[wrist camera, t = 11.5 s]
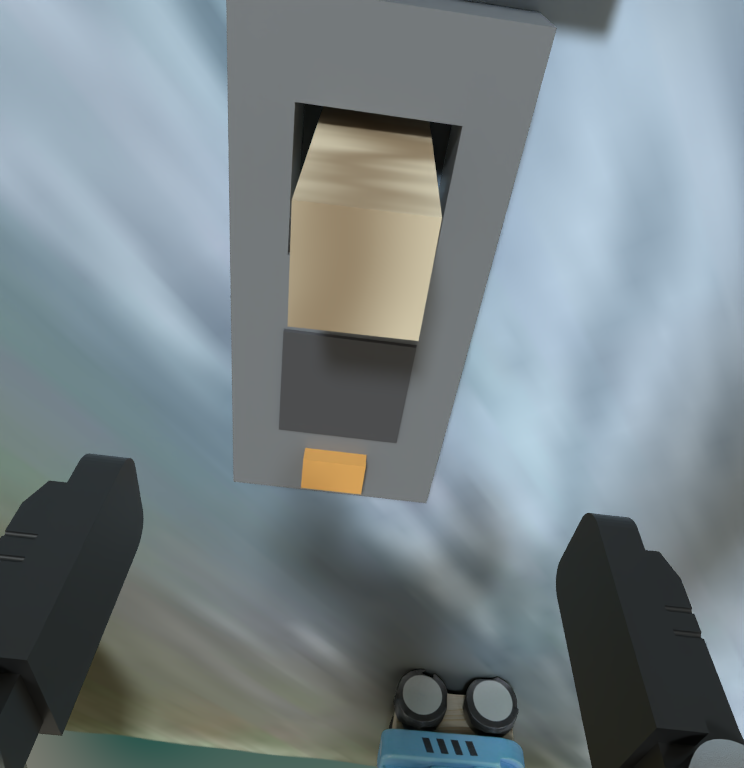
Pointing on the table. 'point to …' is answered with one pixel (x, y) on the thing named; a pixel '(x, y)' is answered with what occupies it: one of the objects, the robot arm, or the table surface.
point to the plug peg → (364, 226)
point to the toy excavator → (451, 726)
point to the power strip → (454, 247)
